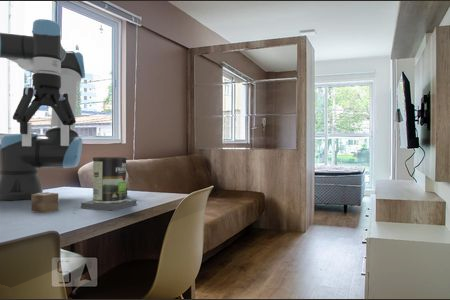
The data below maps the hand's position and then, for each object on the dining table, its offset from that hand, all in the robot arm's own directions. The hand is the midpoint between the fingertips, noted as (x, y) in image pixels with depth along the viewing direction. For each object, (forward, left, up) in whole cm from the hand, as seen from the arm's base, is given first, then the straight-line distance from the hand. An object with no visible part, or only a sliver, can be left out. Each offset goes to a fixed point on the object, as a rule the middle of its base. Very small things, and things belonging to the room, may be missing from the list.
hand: (46, 146), depth 105 cm
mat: (+12, +13, -19) cm, 26 cm away
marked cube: (0, -1, -19) cm, 19 cm away
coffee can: (+12, +13, -18) cm, 25 cm away
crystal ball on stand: (+2, +30, -19) cm, 36 cm away
